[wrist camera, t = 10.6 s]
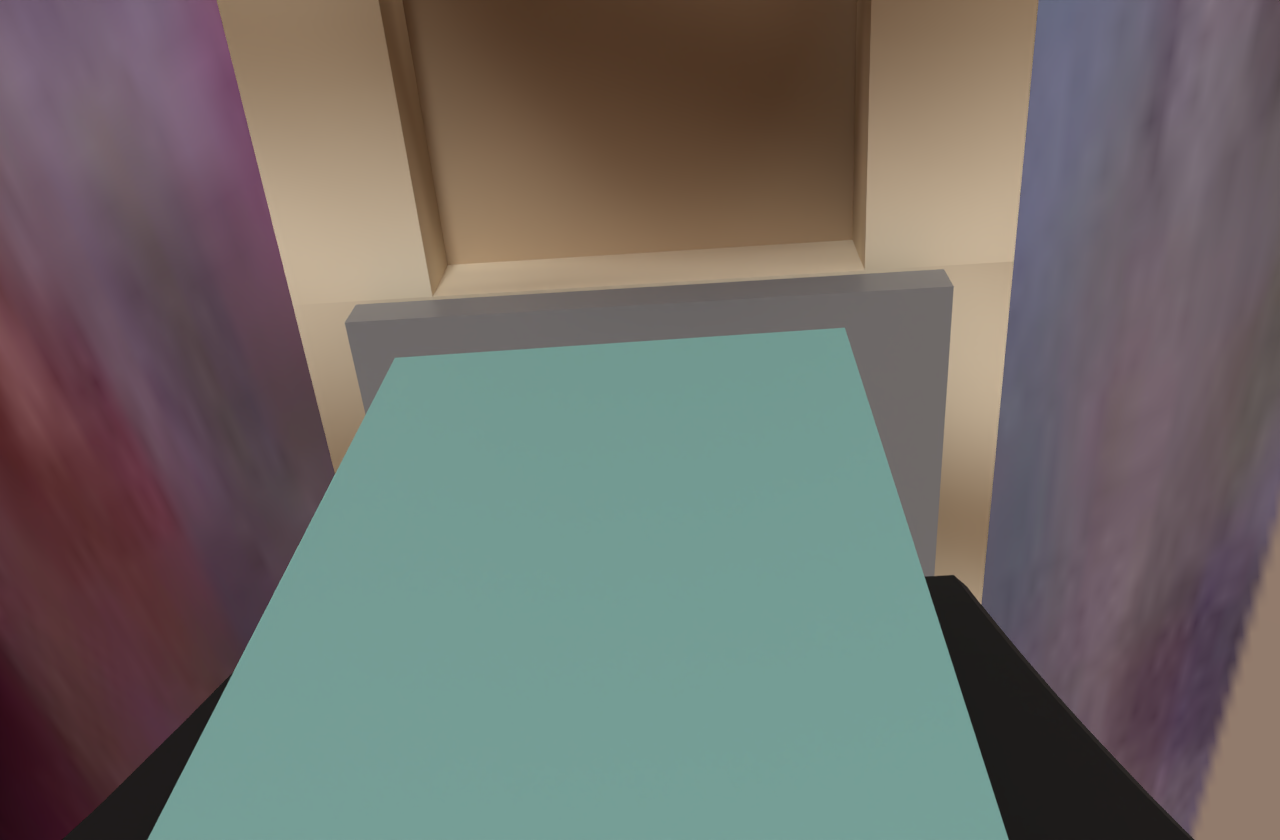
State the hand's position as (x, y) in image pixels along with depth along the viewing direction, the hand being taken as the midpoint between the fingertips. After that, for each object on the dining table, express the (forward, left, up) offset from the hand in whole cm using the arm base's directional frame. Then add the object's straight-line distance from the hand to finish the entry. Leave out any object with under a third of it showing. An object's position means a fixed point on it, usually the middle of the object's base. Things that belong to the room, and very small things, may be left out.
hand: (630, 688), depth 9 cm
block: (0, 0, -2) cm, 2 cm away
